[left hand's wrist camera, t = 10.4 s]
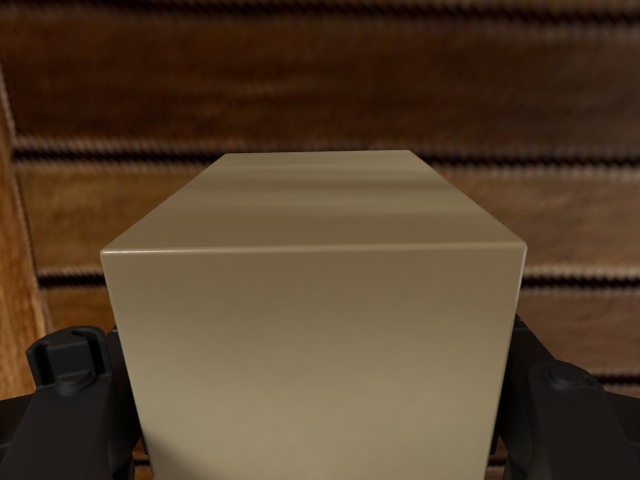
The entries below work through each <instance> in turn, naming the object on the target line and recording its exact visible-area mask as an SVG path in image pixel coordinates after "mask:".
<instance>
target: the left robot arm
mask: <svg viewBox="0 0 640 480" xmlns="http://www.w3.org/2000/svg"><path fill="white" fill-rule="evenodd" d="M25 353H26V356H27V359H28V362H29V366H30V369H31V372H32V375H33V378H34V381H35V384H36V388H37V389H36V391H35V393H33V394H29V395H25V396H20V397H15V398H10V399H6V400H1V401H0V480H134V475H135V466H134V460H133V455H132V452H133V450H134V448H135V446H136V444H137V442H138V440H139V438H140V436H141V438H142V443H143V447H144V452H145V455H148V453H147V449H146V445H145V441H144V437H143V432H142V428H141V424H140V420H139V416H138V412H137V408H136V404H135V399H134V395H133V391H132V387H131V383H130V379H129V375H128V370H127V366H126V362H125V358H124V354H123V350H122V346H121V342H120V337H119V333H118V329H117V325H115V326H114V327H113V328H112V330H111V332H109V333H108V334H107V336H106V337H105V332H103V331H102V330H101V329H100V328H98V327H92V326H74V327H70V328H66V329H62V330H58V331H56V332H53V333H51V334H49V335H46V336H44V337H43V338H41V339H39V340H38V341H36V342H35V343H33V344H32V345H31V346H30V347H29V348H28V350H27V351H26V352H25ZM499 435H500V437H501V438H502V440H503V442H504V444H505V446H506V448H507V450H508V455H507V460H506V464H505V469H504V473H503V477H502V480H640V399H638V398H634V397H629V396H624V395H619V394H614V393H610V392H607V391H605V390H604V388H603V386H602V385H601V384H600V383H599V381H598V380H597V379H596V378H595V377H594V376H592V375H591V374H590V373H588V372H587V371H585V370H584V369H581V368H579V367H577V366H575V365H573V364H571V363H567V362H563V361H560V360H555V359H554V357H553V356H552V355H551V354H550V353H549V352H548V350H547V349H546V348H545V347H544V346H543V344H542V343H541V342H540V341H539V340H538V339H537V337H536V336H535V335H534V334H533V333H532V332H531V331H529V328H528V327H527V326H526V325H525V323H524V322H523V321H521V319H520V318H519V316H518V315H517V314H516V313H515V319H514V324H513V330H512V335H511V341H510V346H509V351H508V357H507V362H506V368H505V373H504V379H503V384H502V390H501V395H500V400H499V406H498V411H497V417H496V422H495V428H494V433H493V439H492V444H491V449H490V455H495V451H496V446H497V441H498V437H499Z"/></svg>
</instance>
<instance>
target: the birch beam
mask: <svg viewBox="0 0 640 480" xmlns="http://www.w3.org/2000/svg"><path fill="white" fill-rule="evenodd" d="M526 253H527V244H526V242H525V241H524V240H523V239H521V238H520V237H519V236H518V235H516V234H515V233H514V232H512V231H511V230H510V229H509V228H507V227H506V226H505V225H504V224H502V223H501V222H500V221H499V220H497V219H496V218H495V217H493V216H492V215H491V214H490V213H488V212H487V211H486V210H485V209H483V208H482V207H481V206H479V205H478V204H477V203H476V202H474V201H473V200H472V199H471V198H469V197H468V196H467V195H465V194H464V193H463V192H462V191H460V190H459V189H458V188H457V187H455V186H454V185H453V184H452V183H450V182H449V181H448V180H446V179H445V178H444V177H443V176H441V175H440V174H439V173H438V172H436V171H435V170H434V169H432V168H431V167H430V166H429V165H427V164H426V163H425V162H424V161H422V160H421V159H420V158H418V157H417V156H416V155H415V154H413V153H412V152H411V151H409V150H389V151H340V152H290V153H240V154H225V155H224V156H222V157H221V158H220V159H218V160H217V161H216V162H214V163H213V164H212V165H211V166H209V167H208V168H207V169H205V170H204V171H203V172H201V173H200V174H199V175H198V176H196V177H195V178H194V179H192V180H191V181H190V182H188V183H187V184H186V185H185V186H183V187H182V188H181V189H179V190H178V191H177V192H176V193H174V194H173V195H172V196H170V197H169V198H168V199H166V200H165V201H164V202H163V203H161V204H160V205H159V206H157V207H156V208H155V209H153V210H152V211H151V212H150V213H148V214H147V215H146V216H144V217H143V218H142V219H140V220H139V221H138V222H137V223H135V224H134V225H133V226H131V227H130V228H129V229H127V230H126V231H125V232H124V233H122V234H121V235H120V236H118V237H117V238H116V239H114V240H113V241H112V242H111V243H109V244H108V245H107V246H105V247H104V248H103V249H101V252H100V259H101V263H102V267H103V271H104V275H105V279H106V284H107V288H108V292H109V296H110V300H111V304H112V308H113V313H114V317H115V321H116V325H117V329H118V333H119V337H120V342H121V346H122V350H123V354H124V358H125V362H126V366H127V370H128V375H129V379H130V383H131V387H132V391H133V395H134V399H135V404H136V408H137V412H138V416H139V420H140V424H141V428H142V432H143V437H144V441H145V445H146V449H147V453H148V457H149V461H150V466H151V470H152V474H153V478H154V480H485V477H486V471H487V466H488V460H489V455H490V449H491V444H492V439H493V433H494V428H495V422H496V417H497V411H498V406H499V400H500V395H501V390H502V384H503V379H504V373H505V368H506V362H507V357H508V351H509V346H510V341H511V335H512V330H513V324H514V319H515V313H516V308H517V302H518V297H519V291H520V286H521V281H522V275H523V270H524V264H525V259H526Z"/></svg>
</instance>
